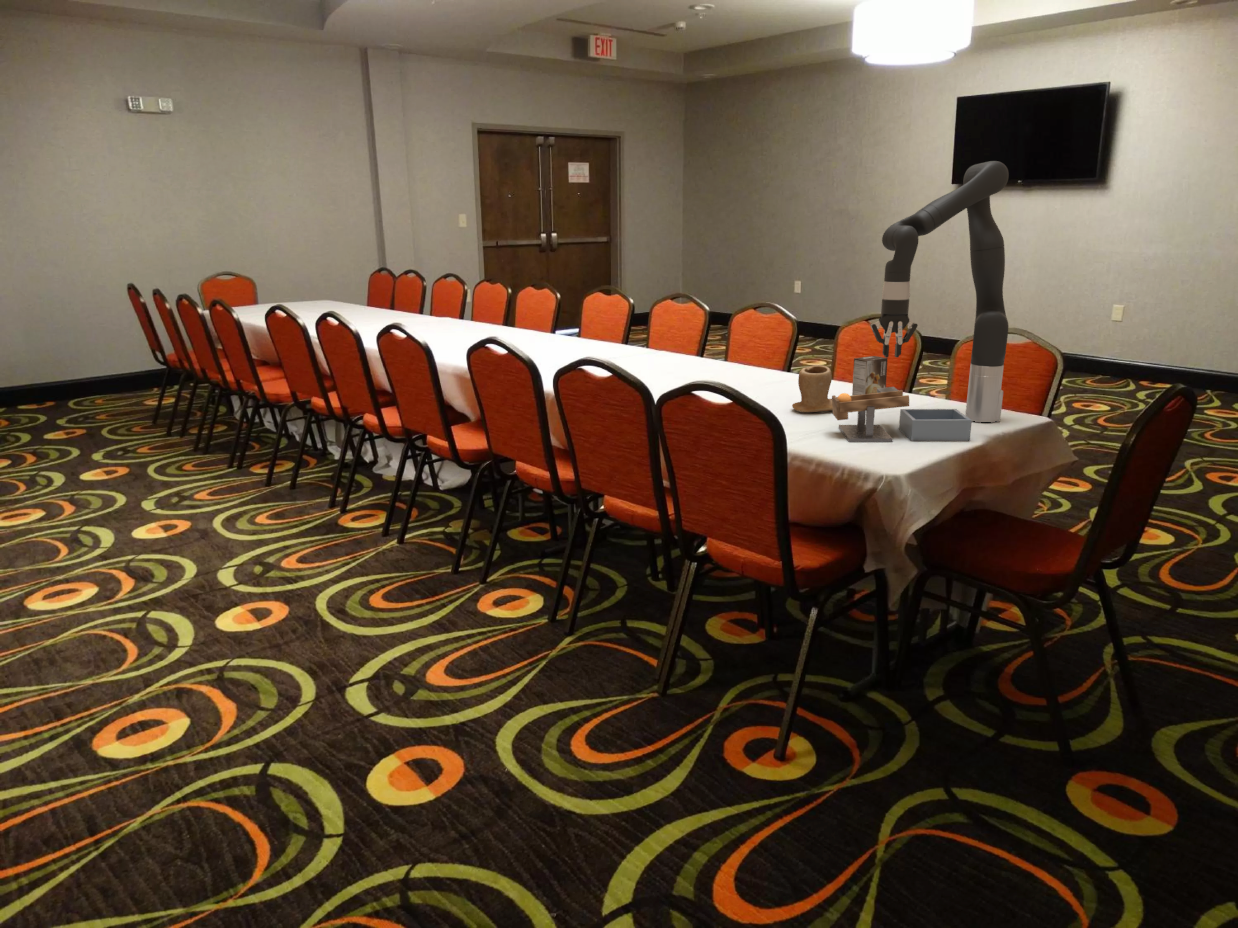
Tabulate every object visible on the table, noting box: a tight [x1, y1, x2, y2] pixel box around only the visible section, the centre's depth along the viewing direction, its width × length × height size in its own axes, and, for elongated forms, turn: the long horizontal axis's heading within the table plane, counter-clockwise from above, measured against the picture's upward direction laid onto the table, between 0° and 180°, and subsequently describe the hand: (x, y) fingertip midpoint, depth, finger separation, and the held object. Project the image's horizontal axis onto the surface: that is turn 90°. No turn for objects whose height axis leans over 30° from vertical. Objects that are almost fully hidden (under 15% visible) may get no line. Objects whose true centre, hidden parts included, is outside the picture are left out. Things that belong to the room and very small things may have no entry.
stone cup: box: [791, 364, 833, 413], centre depth 271 cm, size 15×12×15 cm
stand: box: [838, 406, 893, 443], centre depth 242 cm, size 12×16×10 cm
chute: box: [831, 386, 910, 421], centre depth 245 cm, size 20×18×6 cm
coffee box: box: [851, 355, 889, 396], centre depth 277 cm, size 9×6×16 cm
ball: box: [837, 392, 851, 402], centre depth 241 cm, size 4×4×4 cm
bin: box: [898, 408, 973, 442], centre depth 241 cm, size 16×14×6 cm
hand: (891, 356), depth 246 cm, fingers open, 2 cm apart
